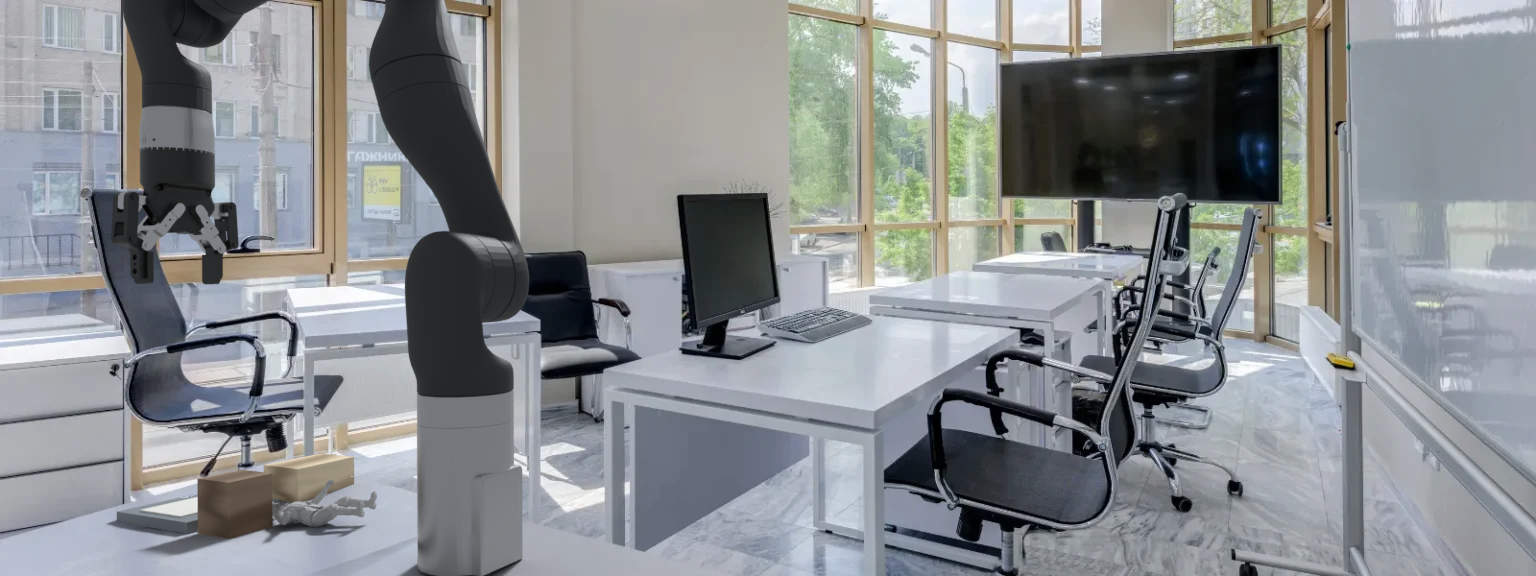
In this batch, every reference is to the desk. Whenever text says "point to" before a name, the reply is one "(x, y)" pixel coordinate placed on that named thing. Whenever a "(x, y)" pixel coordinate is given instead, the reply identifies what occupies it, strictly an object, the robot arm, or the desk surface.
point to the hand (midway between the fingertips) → (179, 284)
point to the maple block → (309, 476)
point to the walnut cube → (234, 503)
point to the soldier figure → (321, 509)
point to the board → (166, 515)
